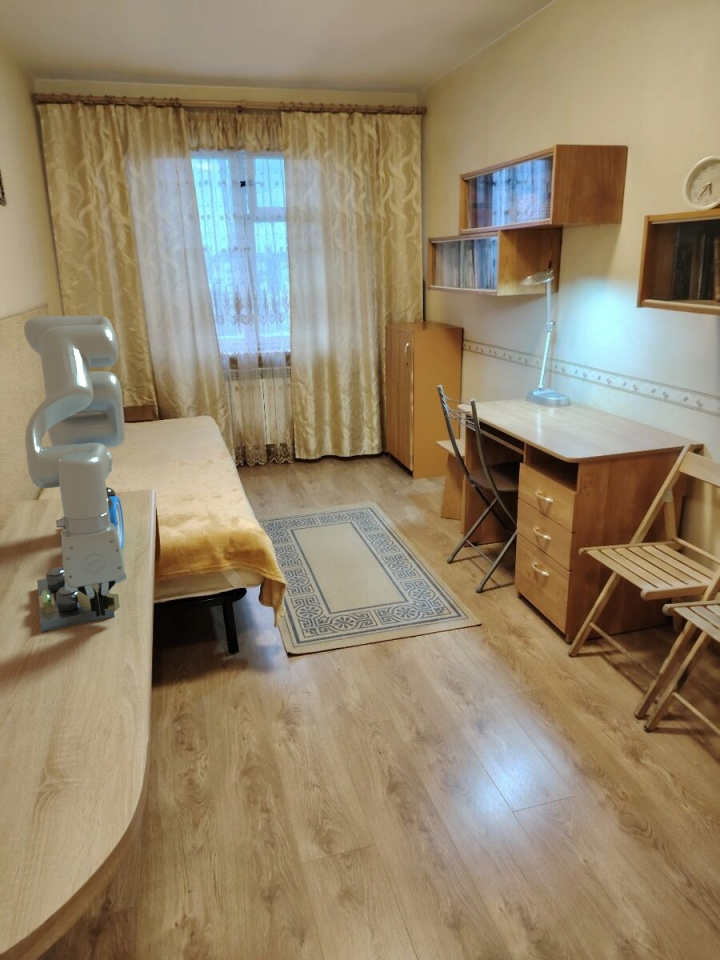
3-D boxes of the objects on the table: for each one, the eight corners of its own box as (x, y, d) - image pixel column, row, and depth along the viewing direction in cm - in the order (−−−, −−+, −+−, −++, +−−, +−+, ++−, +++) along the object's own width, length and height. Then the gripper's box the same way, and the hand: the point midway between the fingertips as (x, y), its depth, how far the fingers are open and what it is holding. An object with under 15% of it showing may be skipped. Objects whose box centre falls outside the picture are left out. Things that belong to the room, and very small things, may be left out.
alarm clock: (120, 559, 157) (113, 499, 152) (92, 562, 155) (84, 501, 151) (125, 538, 169) (119, 482, 164) (99, 541, 168) (92, 484, 163)
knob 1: (43, 588, 138) (40, 572, 137) (60, 580, 141) (58, 564, 140) (88, 601, 132) (85, 584, 131) (105, 591, 136) (103, 575, 135)
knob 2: (53, 609, 129) (50, 592, 128) (67, 599, 133) (65, 582, 132) (111, 617, 126) (108, 600, 125) (124, 606, 130) (122, 589, 129)
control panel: (38, 588, 143) (35, 569, 141) (103, 576, 148) (100, 558, 147) (41, 632, 126) (38, 611, 124) (114, 616, 131) (112, 596, 130)
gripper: (42, 536, 114) (58, 631, 120) (134, 521, 120) (144, 613, 126) (41, 521, 121) (56, 613, 126) (128, 509, 127) (138, 596, 132)
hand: (100, 613), depth 126 cm, fingers closed
